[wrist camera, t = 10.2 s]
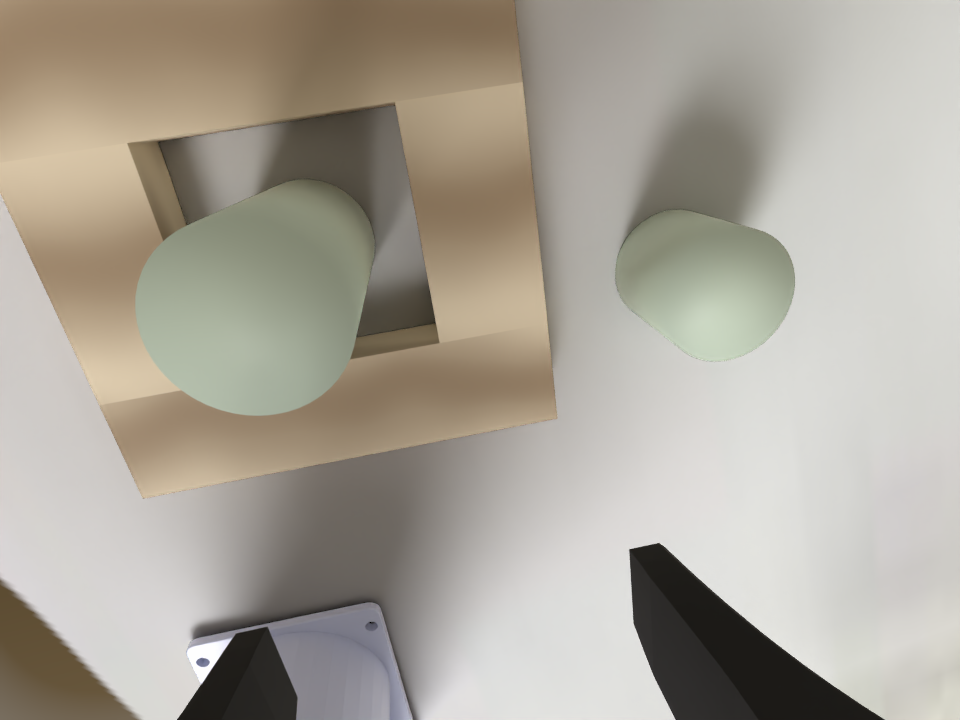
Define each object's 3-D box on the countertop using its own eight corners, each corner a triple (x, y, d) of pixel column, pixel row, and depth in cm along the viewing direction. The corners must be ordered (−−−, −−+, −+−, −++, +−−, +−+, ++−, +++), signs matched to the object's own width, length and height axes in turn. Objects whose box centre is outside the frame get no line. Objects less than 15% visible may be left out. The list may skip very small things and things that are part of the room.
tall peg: (389, 287, 19) (381, 386, 12) (273, 317, 19) (190, 437, 11) (352, 165, 17) (316, 191, 10) (225, 197, 17) (93, 246, 10)
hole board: (543, 393, 21) (557, 418, 19) (166, 465, 20) (143, 498, 18) (494, -51, 16) (506, -76, 14) (-27, 21, 15) (-87, 5, 13)
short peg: (721, 310, 21) (789, 348, 17) (617, 329, 21) (664, 372, 17) (724, 200, 19) (800, 217, 16) (612, 219, 19) (662, 241, 15)
